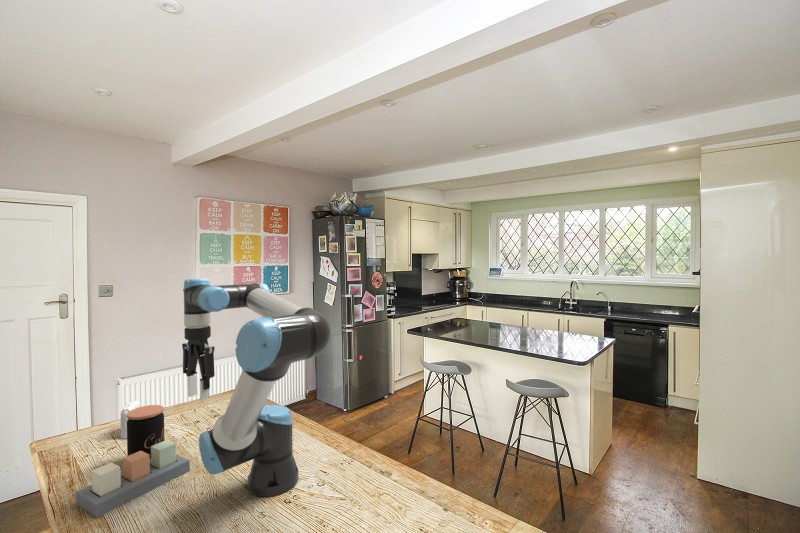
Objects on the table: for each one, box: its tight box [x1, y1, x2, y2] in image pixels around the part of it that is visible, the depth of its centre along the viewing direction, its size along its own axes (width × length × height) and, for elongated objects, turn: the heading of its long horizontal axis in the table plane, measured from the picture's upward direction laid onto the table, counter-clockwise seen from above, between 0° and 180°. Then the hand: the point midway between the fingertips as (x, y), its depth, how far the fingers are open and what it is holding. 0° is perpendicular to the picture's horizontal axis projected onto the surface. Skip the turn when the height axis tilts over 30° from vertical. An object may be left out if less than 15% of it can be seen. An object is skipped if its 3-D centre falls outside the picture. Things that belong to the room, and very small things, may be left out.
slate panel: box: [75, 454, 191, 518], centre depth 118 cm, size 12×26×4 cm, turn 151°
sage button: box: [151, 439, 177, 469], centre depth 125 cm, size 5×5×6 cm
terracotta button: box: [122, 451, 150, 482], centre depth 118 cm, size 5×5×6 cm
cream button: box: [91, 462, 121, 497], centre depth 111 cm, size 5×5×6 cm
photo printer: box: [120, 400, 142, 440], centre depth 153 cm, size 10×4×12 cm, turn 13°
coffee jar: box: [126, 404, 166, 459], centre depth 131 cm, size 11×11×18 cm
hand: (198, 397), depth 124 cm, fingers open, 6 cm apart
